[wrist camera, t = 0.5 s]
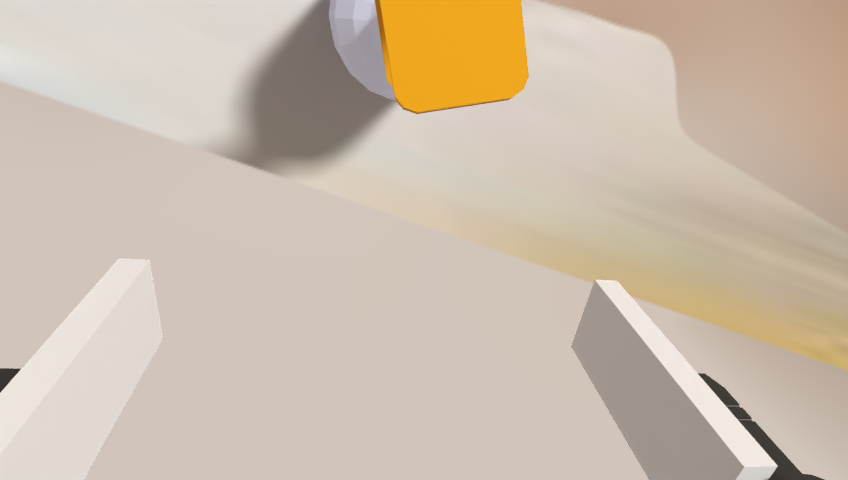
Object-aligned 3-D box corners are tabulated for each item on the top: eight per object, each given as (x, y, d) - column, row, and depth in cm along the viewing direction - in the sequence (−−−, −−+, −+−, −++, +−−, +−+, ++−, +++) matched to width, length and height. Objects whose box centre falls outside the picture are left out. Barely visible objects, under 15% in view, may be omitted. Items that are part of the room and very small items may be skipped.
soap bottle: (350, 84, 37) (337, 218, 15) (324, -51, 32) (255, -131, 11) (462, 68, 37) (602, 175, 16) (451, -68, 33) (626, -178, 11)
